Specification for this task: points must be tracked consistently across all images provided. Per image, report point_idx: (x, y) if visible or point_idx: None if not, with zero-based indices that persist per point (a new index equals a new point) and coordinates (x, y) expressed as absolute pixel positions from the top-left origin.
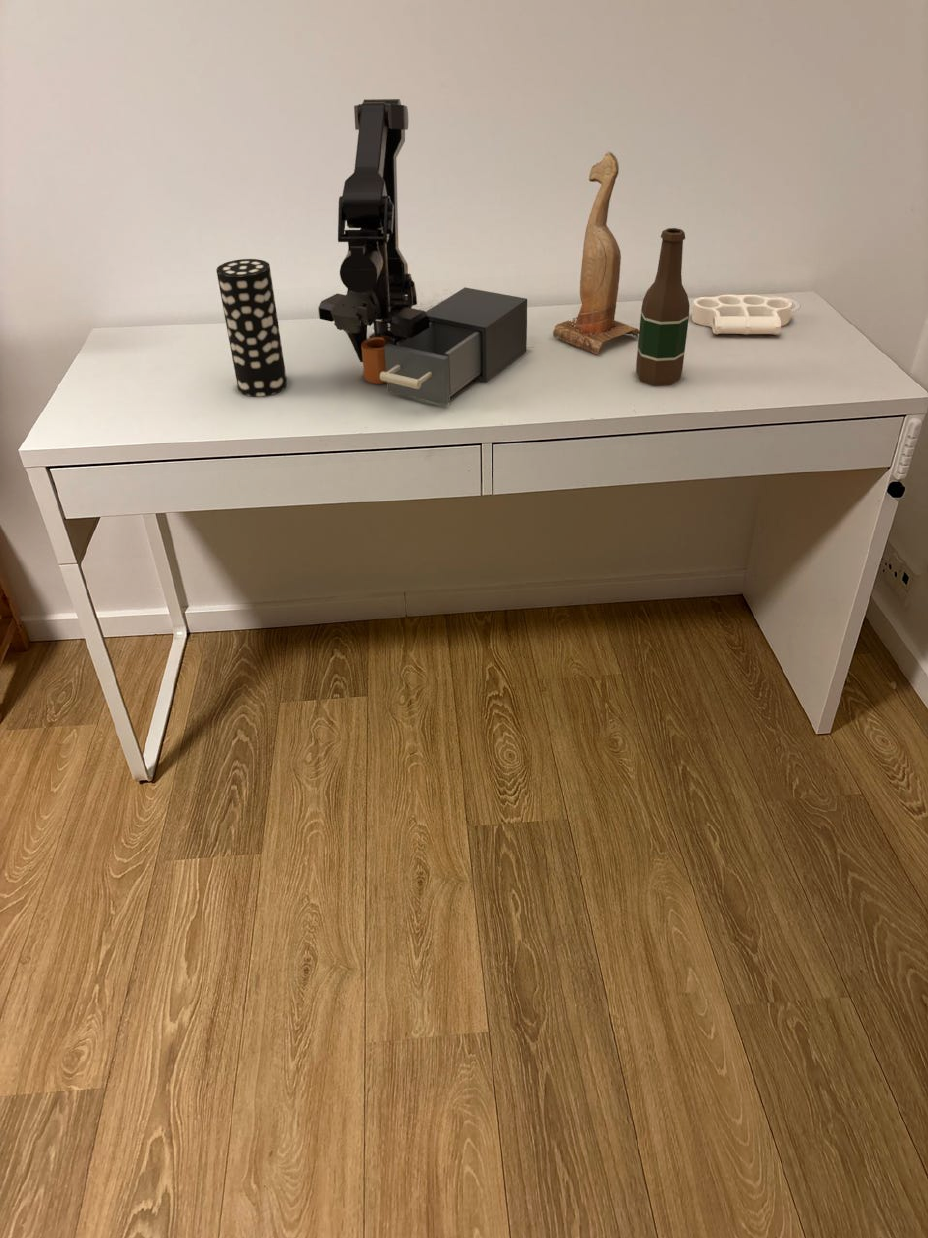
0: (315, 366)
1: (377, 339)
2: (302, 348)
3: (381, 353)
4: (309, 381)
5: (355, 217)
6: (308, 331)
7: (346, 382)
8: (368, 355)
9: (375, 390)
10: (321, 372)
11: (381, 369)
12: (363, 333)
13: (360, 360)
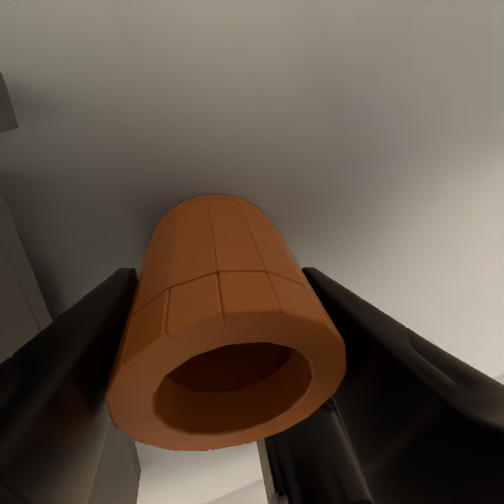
0: (464, 231)
1: (267, 419)
2: (497, 301)
3: (140, 323)
4: (489, 102)
5: None
6: (479, 357)
7: (330, 157)
8: (245, 273)
9: (154, 127)
10: (442, 200)
11: (162, 243)
12: (368, 432)
13: (313, 270)
